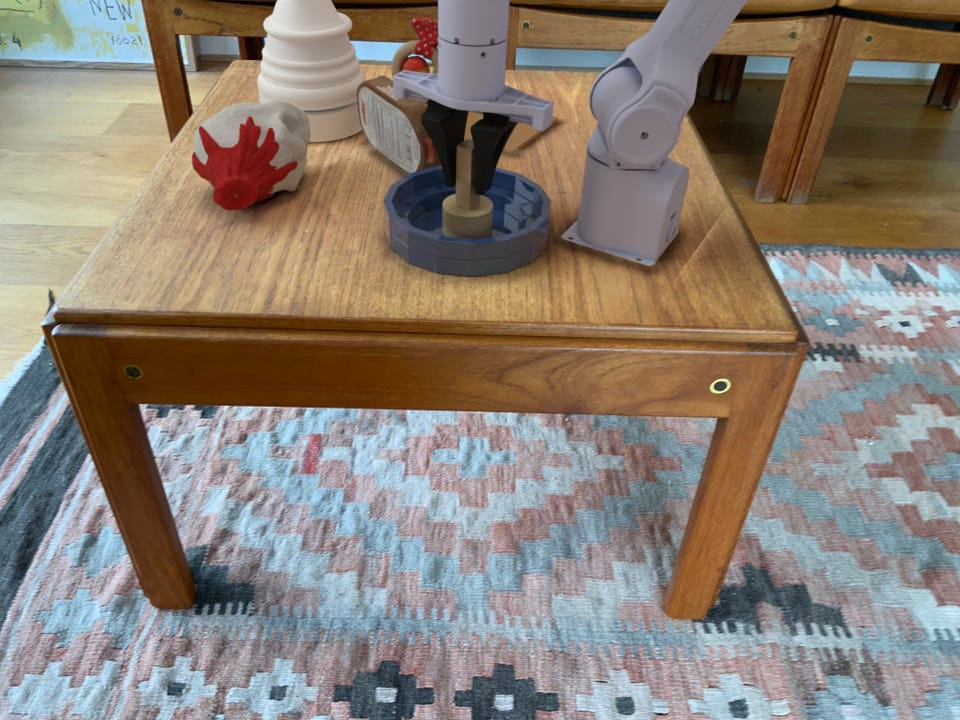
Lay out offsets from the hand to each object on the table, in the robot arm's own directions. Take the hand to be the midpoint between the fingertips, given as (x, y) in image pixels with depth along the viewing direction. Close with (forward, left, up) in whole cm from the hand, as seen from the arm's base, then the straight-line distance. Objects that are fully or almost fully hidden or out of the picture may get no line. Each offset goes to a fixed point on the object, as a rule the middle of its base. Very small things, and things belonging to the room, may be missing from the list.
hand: (468, 186), depth 73 cm
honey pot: (+30, -14, -6) cm, 34 cm away
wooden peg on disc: (0, 0, -5) cm, 5 cm away
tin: (+15, -10, -6) cm, 19 cm away
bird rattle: (+22, -27, -6) cm, 35 cm away
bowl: (0, 0, -5) cm, 5 cm away
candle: (+23, +5, -6) cm, 24 cm away
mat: (+11, -25, -5) cm, 28 cm away
